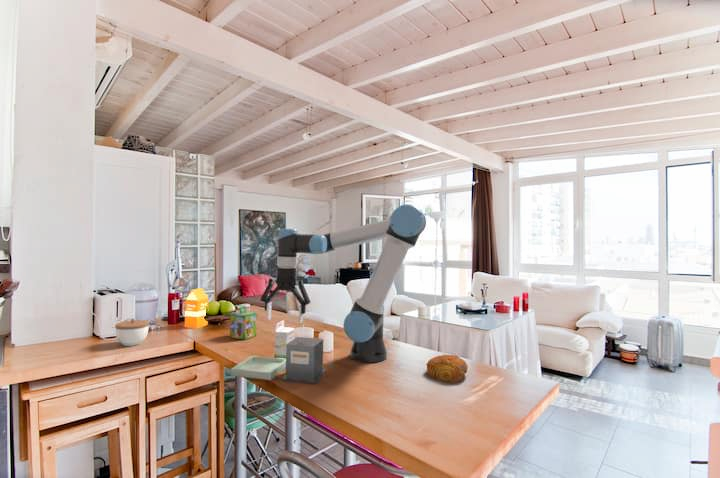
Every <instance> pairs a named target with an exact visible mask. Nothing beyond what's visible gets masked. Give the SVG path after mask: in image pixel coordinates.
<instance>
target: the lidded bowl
mask: <svg viewBox="0 0 720 478" xmlns="http://www.w3.org/2000/svg"><path fill="white" fill-rule="evenodd" d="M149 326H150V322H149V320H145V319H135V318H131V319H130V320H125V321H120V322H117V323H116V324H115V326H114V327H115V337H116V340H117V341H118V342H119V343H120V344H121V345H122V346H123V347H133V346H139V345H141V344H142V342H143V341H145V339H146V338H147V336H148V335H149V334H148V333H149V329H150V327H149ZM138 344H139V345H138Z"/></svg>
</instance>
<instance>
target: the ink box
mask: <svg viewBox="0 0 720 478" xmlns="http://www.w3.org/2000/svg"><path fill="white" fill-rule="evenodd" d="M274 331H275V332H274V356H273V358H283V359H286V344H288V343H289V342H290V341H292V340H293V339H295V327H286V326H285V319H283V320H281V321H279V322H277V323H275V330H274Z"/></svg>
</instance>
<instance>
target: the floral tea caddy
mask: <svg viewBox="0 0 720 478" xmlns="http://www.w3.org/2000/svg"><path fill="white" fill-rule="evenodd" d="M238 310H239V311H237V312H233V313H231V314H229V316H230V317H229V318H230V319H229V320H230V321H229V338H230V339H236V340H244V341H245V340H248V339H250V338H254V337H257V317H258V316H257V314H258V313H257V312H252V311H247V306H246V305H242V306H239V307H238ZM243 310H244V311H243Z"/></svg>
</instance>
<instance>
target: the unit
mask: <svg viewBox="0 0 720 478" xmlns="http://www.w3.org/2000/svg"><path fill="white" fill-rule="evenodd" d="M323 361H324V338H316V337H315V338H313V337H306V336H305V337H304V336H303V337H302V336H296V337H294V339H293V340H292V341H290V342H289V343H288V344H286V368H285V375H283V376H282V377H281V382H290V383H291V382H292V383H299V384H310V385H316V384H317V383H318V382H319V381H320V380H321V378H322V377H323V376H324V375H325V373H326V372H327V369H325V368H323V365H324V362H323Z"/></svg>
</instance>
